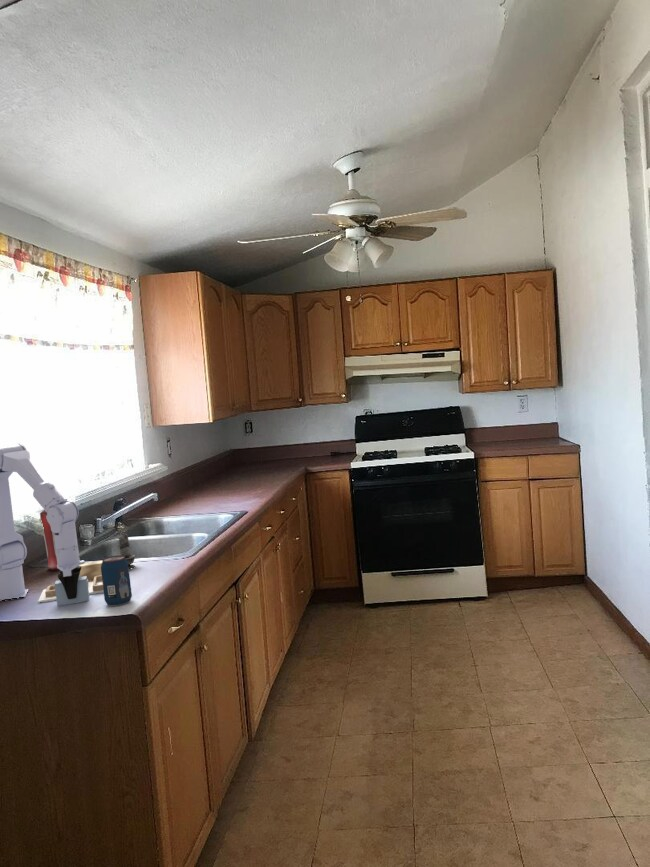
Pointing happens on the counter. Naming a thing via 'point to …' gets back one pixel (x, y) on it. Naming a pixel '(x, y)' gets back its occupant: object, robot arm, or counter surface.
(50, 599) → the jig
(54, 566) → the liquor
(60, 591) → the light blue block
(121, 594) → the soda can
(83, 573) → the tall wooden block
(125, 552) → the salt shaker
